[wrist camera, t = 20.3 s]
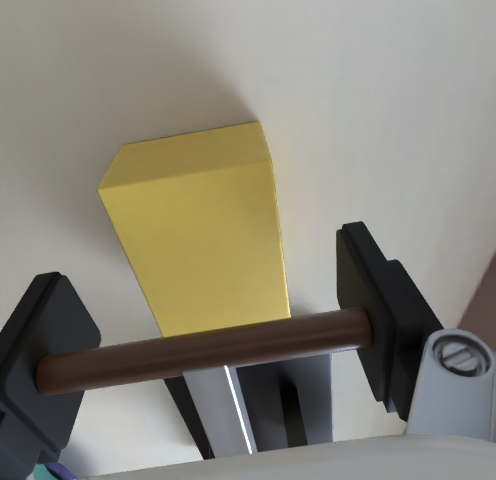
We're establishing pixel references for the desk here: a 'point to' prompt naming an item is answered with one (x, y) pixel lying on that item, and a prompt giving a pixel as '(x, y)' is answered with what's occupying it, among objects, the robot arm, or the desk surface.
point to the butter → (201, 227)
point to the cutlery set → (52, 472)
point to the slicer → (273, 403)
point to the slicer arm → (209, 365)
